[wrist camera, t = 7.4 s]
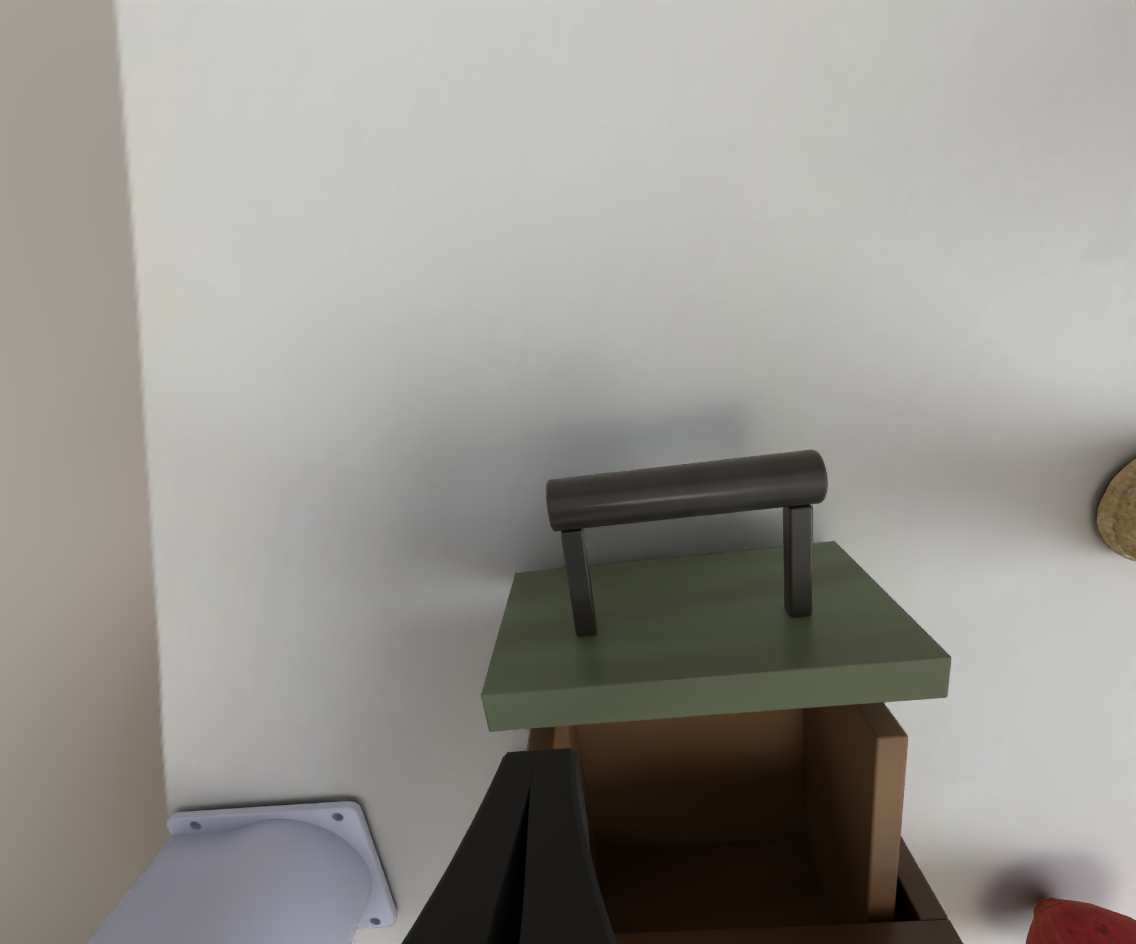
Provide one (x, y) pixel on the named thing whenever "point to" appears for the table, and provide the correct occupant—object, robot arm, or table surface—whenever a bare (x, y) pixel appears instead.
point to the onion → (1078, 924)
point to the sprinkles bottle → (1120, 513)
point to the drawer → (720, 703)
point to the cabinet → (912, 940)
